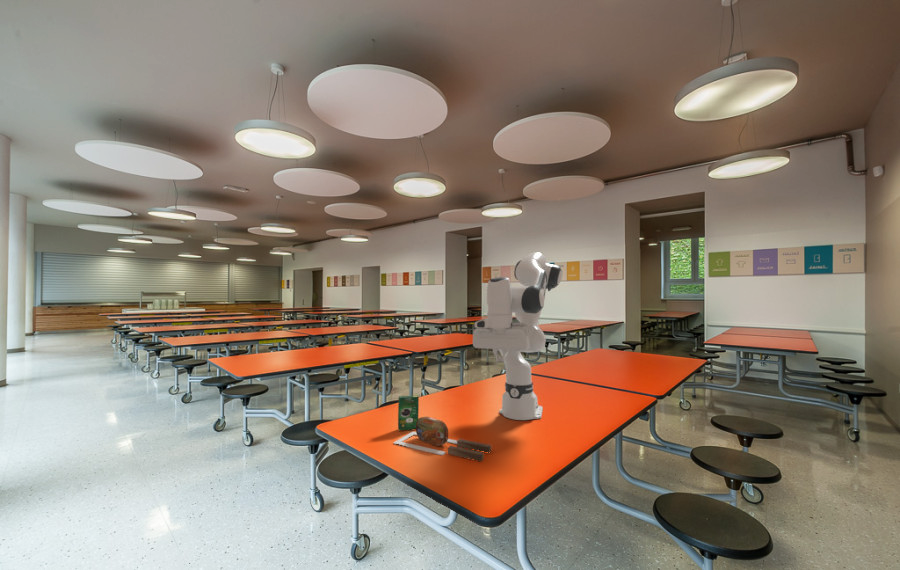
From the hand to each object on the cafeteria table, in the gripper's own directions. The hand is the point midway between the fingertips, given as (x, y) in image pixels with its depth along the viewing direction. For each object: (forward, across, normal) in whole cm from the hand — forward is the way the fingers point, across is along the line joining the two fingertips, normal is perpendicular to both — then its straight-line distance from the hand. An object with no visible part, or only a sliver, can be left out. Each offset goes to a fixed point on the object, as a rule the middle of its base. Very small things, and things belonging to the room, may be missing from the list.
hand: (500, 362), depth 121 cm
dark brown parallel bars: (+29, +8, +10) cm, 32 cm away
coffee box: (+29, +39, +2) cm, 49 cm away
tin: (+29, +24, +8) cm, 39 cm away
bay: (+29, +25, +10) cm, 39 cm away
